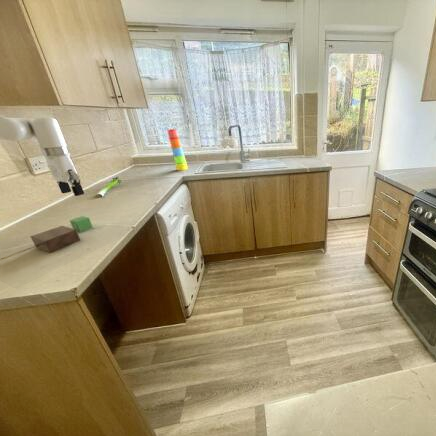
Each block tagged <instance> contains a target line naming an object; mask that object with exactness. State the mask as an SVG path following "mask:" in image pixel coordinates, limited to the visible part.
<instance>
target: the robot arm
mask: <svg viewBox="0 0 436 436" xmlns="http://www.w3.org/2000/svg"><path fill="white" fill-rule="evenodd" d="M0 139H2V140H5V141H9V142H10V141H11V142H19V141H26V140H32V139H36V140H37V143H38V145H39V147H40V150H41V151H42V154H43V157H44V158H45V161H46V164H47V167H48V171H49V172H50V176H51V177H52V179H53V181H56V184H57V185H58V187H59V190H60V192H61V194H68V193H71V192H72V193H73V195H74V196H75V197H78V196H83V195H85V192H84V188H83V186H82V183H81V179H80V175H79V174H78V172H77V169H76V168H75V165H74V163H73V161H72V158H71V157H70V155H71V153H70V151H69V149H68V145H67V143H66V141H65V138H64V135H63V132H62V130H61V128H60V125H59V122H58V120H57V119H56V118H55V117H33V118H30V117H29V118H28V117H6V116H3V115H1V114H0Z"/></svg>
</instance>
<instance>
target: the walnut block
mask: <svg viewBox="0 0 436 436" xmlns="http://www.w3.org/2000/svg"><path fill="white" fill-rule="evenodd" d="M29 237H30V239H31V240H32V243H33V244H34V246H35V248H36V249H38V250H42V251H44V252H47V253H49V254H51V253H53V252H56V251H58V250H61V249H63V248H65V247H69V246H71V245H72V244H75V243H77V242H80V241H81V238H80V236H79V234H78V232H77V231H76V229H73V227H69V226H64V225H60V226H57V227H54V228H51V229H48V230H45V231H42V232H39V233H36V234H32V235H30V236H29Z"/></svg>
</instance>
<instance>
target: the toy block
mask: <svg viewBox="0 0 436 436" xmlns="http://www.w3.org/2000/svg"><path fill="white" fill-rule="evenodd" d="M69 223H70V225H71V228H72V229H76V231H77V233H82V232H85V231H87V230H90V229H92V228H93V225H92V222H91V220H90V217H87V216H79V217H76V218H72V219H70V220H69Z"/></svg>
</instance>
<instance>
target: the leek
mask: <svg viewBox="0 0 436 436" xmlns="http://www.w3.org/2000/svg"><path fill="white" fill-rule="evenodd" d="M121 183H122V181H121V179H119V177H117V176H115V177H112V179H111V180H110V183H109V184H107V185H106V186H105V187H103V188H102V189H101V190H99V191H98V192H97V193H96V194H95V197H98V195H99V196H101V198H103V197H104V196H105V194H106V193H107V192H108V191H109V190H110V189H111V188H113V187H114V186H116V185H117V184H118V185H121Z"/></svg>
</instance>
